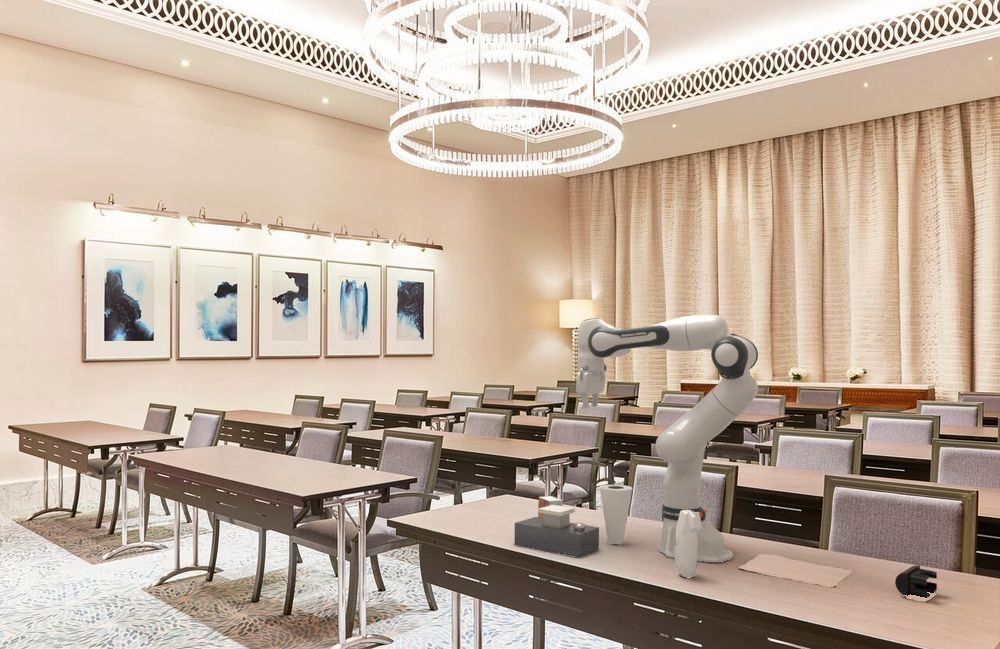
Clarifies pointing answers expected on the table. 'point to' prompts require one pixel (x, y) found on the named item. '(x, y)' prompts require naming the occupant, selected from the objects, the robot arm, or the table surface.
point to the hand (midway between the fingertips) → (590, 407)
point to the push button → (556, 516)
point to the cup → (615, 510)
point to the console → (557, 537)
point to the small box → (548, 503)
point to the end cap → (916, 582)
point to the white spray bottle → (687, 542)
